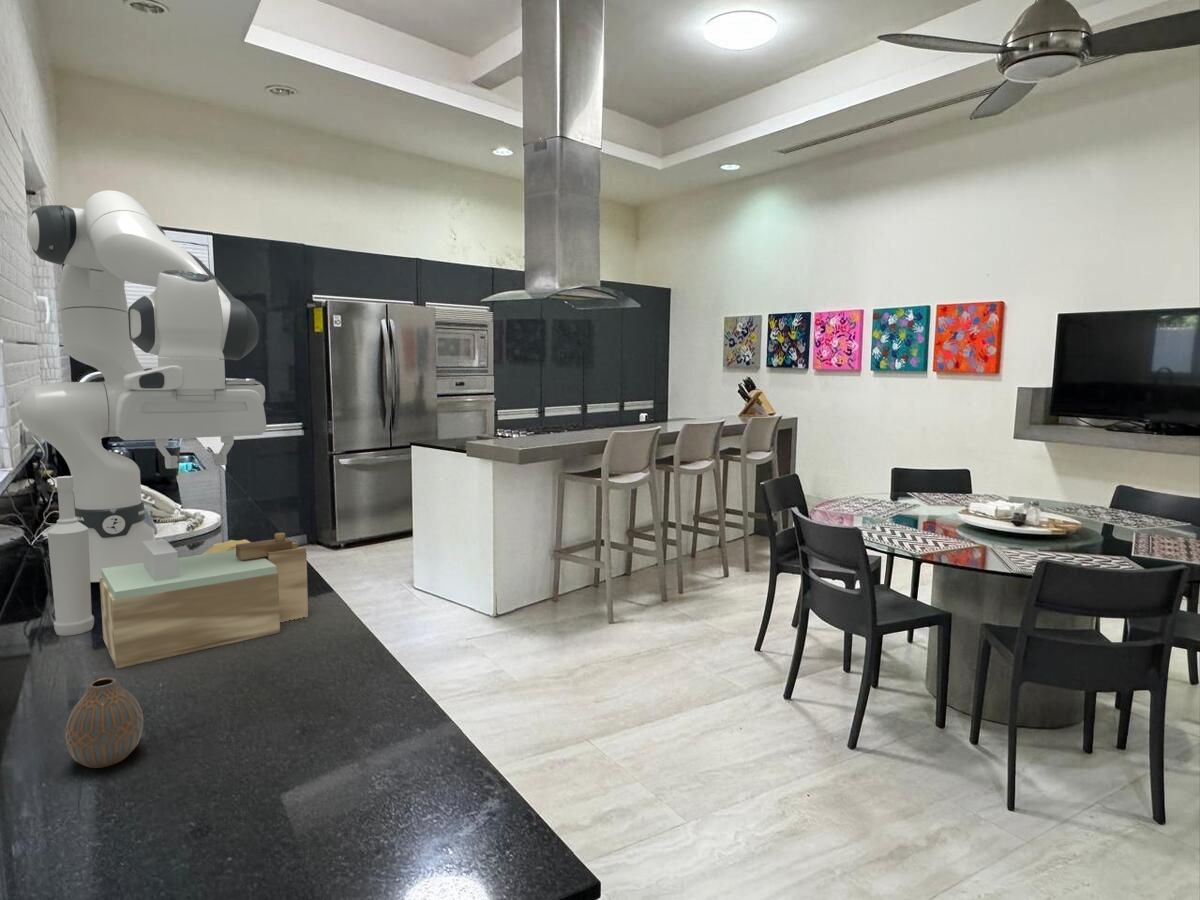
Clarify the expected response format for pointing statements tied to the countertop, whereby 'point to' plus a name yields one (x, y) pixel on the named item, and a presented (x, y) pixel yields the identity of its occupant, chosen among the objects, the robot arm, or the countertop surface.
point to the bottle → (70, 566)
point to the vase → (104, 725)
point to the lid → (179, 571)
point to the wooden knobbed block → (263, 547)
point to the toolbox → (205, 613)
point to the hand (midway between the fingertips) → (196, 466)
